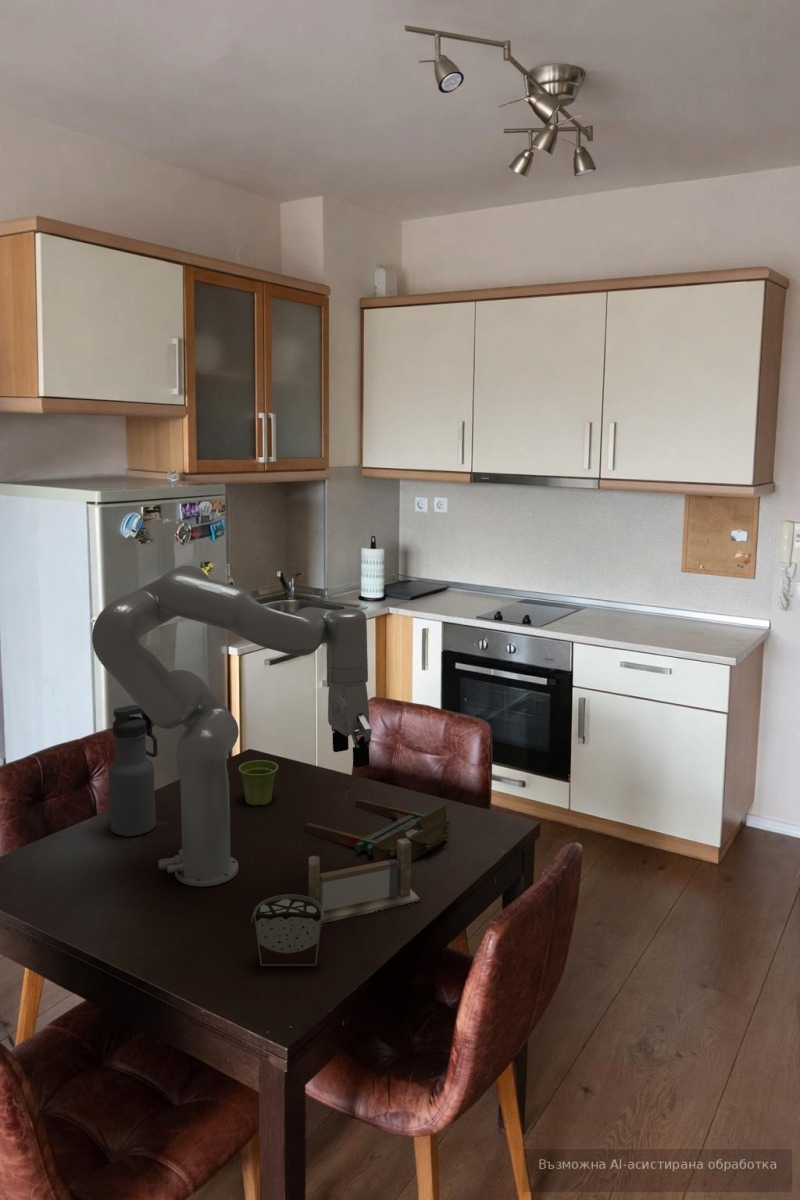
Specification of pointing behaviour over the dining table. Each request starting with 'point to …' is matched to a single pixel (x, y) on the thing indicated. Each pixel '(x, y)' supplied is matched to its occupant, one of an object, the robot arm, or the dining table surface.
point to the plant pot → (258, 781)
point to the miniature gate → (392, 831)
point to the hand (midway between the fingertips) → (350, 758)
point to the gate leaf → (358, 884)
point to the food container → (288, 930)
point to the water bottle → (132, 774)
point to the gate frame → (402, 897)
